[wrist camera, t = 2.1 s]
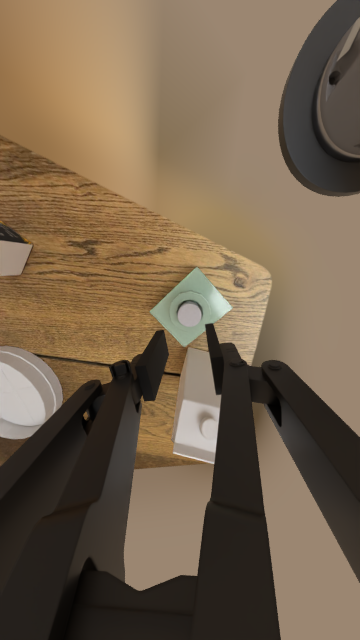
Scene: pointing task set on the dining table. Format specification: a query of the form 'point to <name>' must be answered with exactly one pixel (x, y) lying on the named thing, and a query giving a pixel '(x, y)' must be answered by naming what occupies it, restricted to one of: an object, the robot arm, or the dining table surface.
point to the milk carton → (196, 409)
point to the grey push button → (189, 314)
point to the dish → (26, 393)
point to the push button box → (196, 291)
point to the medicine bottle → (12, 251)
